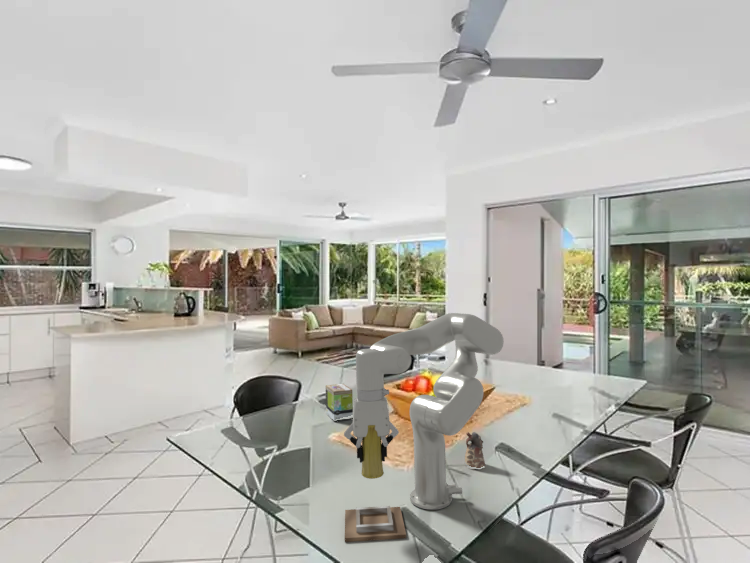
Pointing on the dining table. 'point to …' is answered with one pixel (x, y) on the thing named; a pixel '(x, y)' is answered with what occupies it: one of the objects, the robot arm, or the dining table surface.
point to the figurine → (474, 451)
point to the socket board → (374, 524)
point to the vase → (372, 454)
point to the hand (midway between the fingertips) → (372, 459)
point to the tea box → (339, 401)
